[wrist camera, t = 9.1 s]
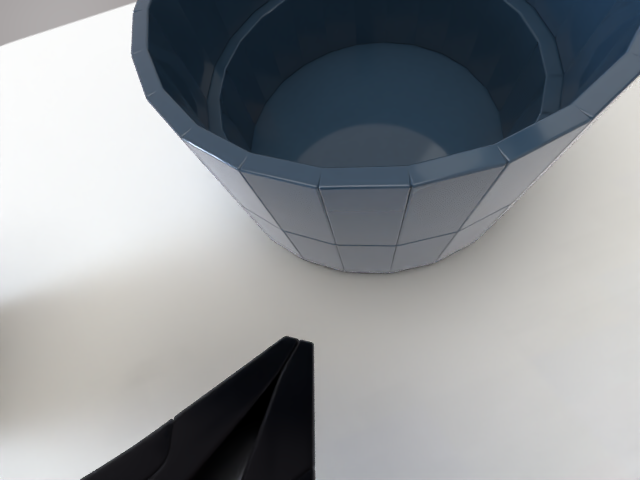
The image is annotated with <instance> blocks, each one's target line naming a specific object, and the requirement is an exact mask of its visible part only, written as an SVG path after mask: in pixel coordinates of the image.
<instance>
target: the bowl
mask: <svg viewBox="0 0 640 480" xmlns="http://www.w3.org/2000/svg"><path fill="white" fill-rule="evenodd" d="M133 12H134V13H133V22H132V46H131V54H132V59H133V62H134V65H135V68H136V71H137V73H138V76H139V79H140V82H141V85H142V88H143V91H144V94H145V96H146V99H147V101H148V102H149V103H150V104H151V105H152V106H153V108H154V109H155V110H156V111H157V112H158V113H159V114H160V116H161V117H162V118H163V119H164V120H165V121H166V122H167V123H168V125H169V126H170V127H171V128H172V129H173V130H174V131H175V133H176V134H177V135H178V136H179V137H180V138H181V139H182V141H183V142H184V143H185V144H186V145H187V146H188V147H189V148H190V149H191V151H192V152H193V153H194V154H195V155H196V156H197V157H198V158H199V160H200V161H201V162H202V163H203V164H204V165H205V166H206V167H207V168H208V170H209V171H210V172H211V173H212V174H213V175H214V176H215V177H216V179H217V180H218V181H219V182H220V183H221V184H222V185H223V186H224V187H225V189H226V190H227V191H228V192H229V193H230V194H231V195H232V196H233V198H234V199H235V200H236V201H237V202H238V203H239V204H240V205H241V207H242V208H243V209H244V210H245V211H246V212H247V213H248V214H249V215H250V217H251V218H252V219H253V220H254V221H255V222H256V223H257V224H258V226H259V227H260V228H261V229H262V230H263V231H264V232H265V233H266V234H267V236H268V237H269V238H270V239H271V240H273V241H274V242H276V243H277V244H279V245H281V246H282V247H284V248H285V249H287V250H289V251H290V252H292V253H293V254H295V255H297V256H298V257H300V258H301V259H303V260H304V259H305V260H306V261H309V262H313V263H316V264H320V265H323V266H326V267H330V268H333V269H337V270H340V271H345V272H363V273H389V272H390V273H393V272H397V271H402V270H406V269H411V268H415V267H419V266H424V265H428V264H433V263H434V262H438V261H439V260H441V259H443V258H445V257H447V256H449V255H451V254H453V253H455V252H457V251H459V250H460V249H462V248H464V247H466V246H468V245H470V244H472V243H473V242H474V241H476V240H477V239H478V238H480V237H481V236H482V235H483V234H484V233H485V232H486V231H487V230H488V229H489V228H490V227H491V226H492V225H493V224H494V223H495V222H496V221H497V220H498V219H499V218H500V217H501V216H502V215H503V214H505V212H506V211H507V210H508V209H509V208H510V207H511V206H512V205H513V204H514V203H515V202H516V201H517V200H518V199H519V198H520V197H521V196H522V195H523V194H524V193H525V192H526V191H527V190H528V189H529V188H530V187H531V186H532V185H533V184H534V183H535V182H536V181H537V180H538V179H539V178H540V177H541V176H542V175H543V174H544V173H545V172H546V171H547V170H548V169H549V168H550V167H551V166H552V165H553V164H554V163H555V162H556V161H557V160H558V159H559V158H560V157H561V156H562V155H563V154H564V153H565V152H566V151H567V150H568V149H569V148H570V147H571V146H572V145H573V144H574V143H575V142H576V141H577V139H578V138H579V137H580V136H581V135H582V134H583V133H584V132H585V131H586V130H587V129H588V128H589V127H590V126H591V125H592V124H593V123H594V122H595V121H596V120H597V119H598V118H599V117H600V116H601V115H602V114H603V113H604V112H605V111H606V110H607V109H608V108H609V107H610V106H611V105H612V104H613V103H614V102H615V101H616V100H617V99H618V98H619V97H620V96H621V95H622V94H623V93H624V92H625V91H626V90H627V89H628V88H629V87H630V86H631V85H632V84H633V83H634V82H635V81H636V80H637V79H638V78H639V77H640V0H137V3H136V5H135V8H134V11H133Z"/></svg>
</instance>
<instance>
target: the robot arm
mask: <svg viewBox="0 0 640 480" xmlns="http://www.w3.org/2000/svg"><path fill="white" fill-rule="evenodd" d="M80 480H315V410H314V344H313V343H312V342H309V341H305V340H300V341H299V340H298V339H297V338H293V337H289V336H285V337H283V338H281V339H280V340H279V341H277V342H276V343H275V344H273V345H272V346H270V347H269V348H268V349H266V350H265V351H264V352H262V353H261V354H260V355H258V356H257V357H255V358H254V359H253V360H251V361H250V362H249V363H247V364H246V365H244V366H243V367H242V368H240V369H239V370H238V371H236V372H235V373H234V374H232V375H231V376H229V377H228V378H227V379H225V380H224V381H223V382H221V383H220V384H218V385H217V386H216V387H214V388H213V389H212V390H210V391H209V392H208V393H206V394H205V395H203V396H202V397H201V398H199V399H198V400H197V401H195V402H194V403H193V404H191V405H190V406H188V407H187V408H186V409H184V410H183V411H182V412H180V413H179V414H177V415H176V416H175V417H174V420H173V419H170V420H169V421H168V422H166V423H165V424H164V425H162V426H161V427H159V428H158V429H157V430H155V431H154V432H152V433H151V434H150V435H148V436H147V437H145V438H144V439H142V440H141V441H140V442H138V443H137V444H135V445H134V446H132V447H131V448H129V449H128V450H126V451H125V452H123V453H122V454H120V455H118V456H117V457H115V458H114V459H112V460H111V461H109V462H108V463H106V464H104V465H103V466H101V467H100V468H98V469H96V470H95V471H93V472H92V473H90V474H88V475H87V476H85V477H83V478H82V479H80Z"/></svg>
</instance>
